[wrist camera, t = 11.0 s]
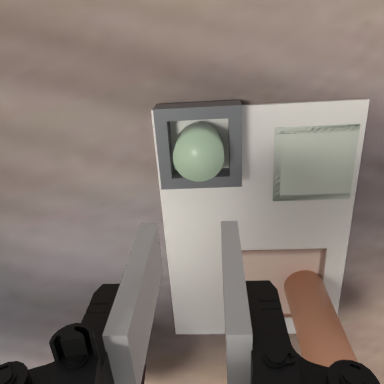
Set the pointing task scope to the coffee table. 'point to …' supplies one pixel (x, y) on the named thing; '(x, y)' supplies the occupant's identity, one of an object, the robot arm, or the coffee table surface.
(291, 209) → the sheet
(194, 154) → the button
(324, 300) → the marker
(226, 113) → the button housing
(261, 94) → the coffee table surface
